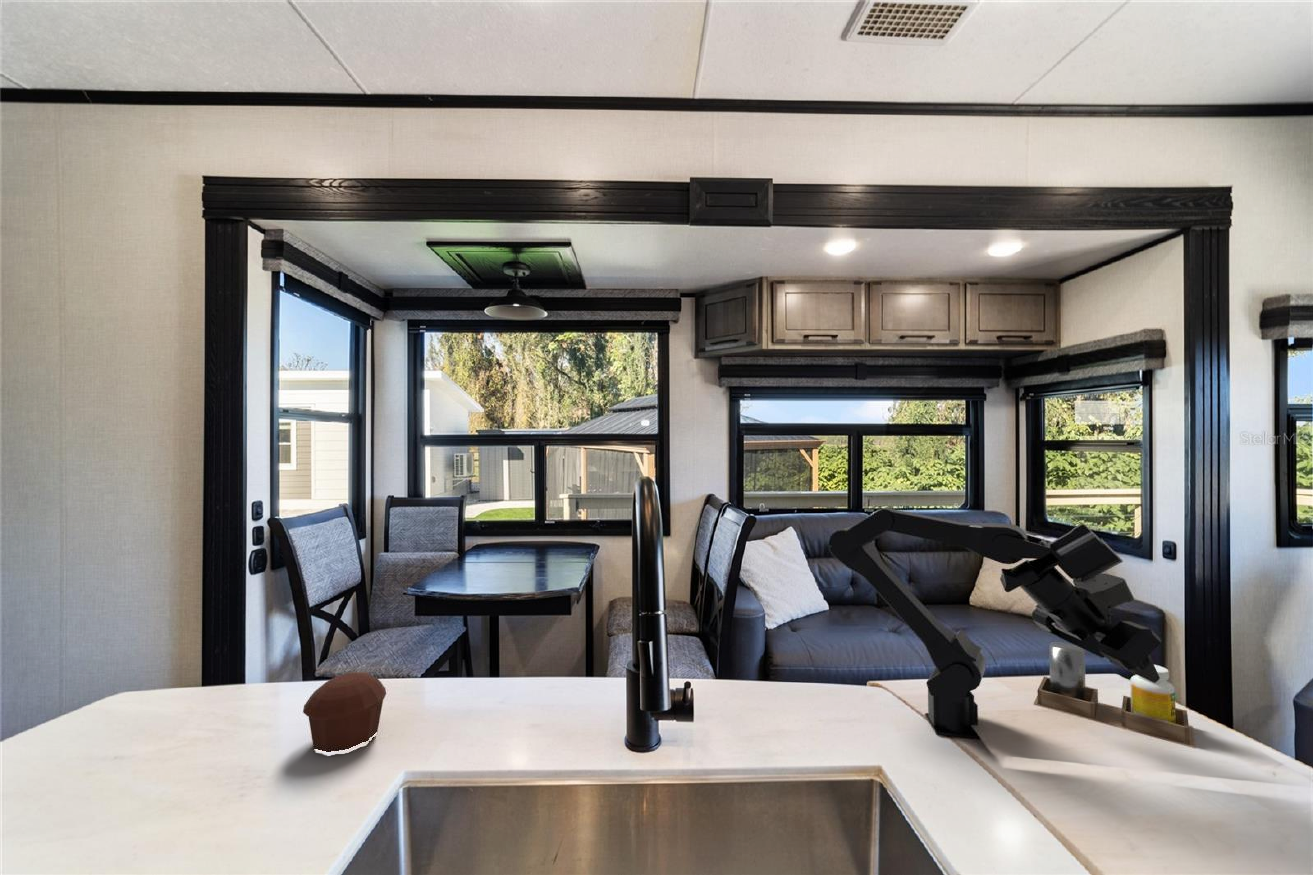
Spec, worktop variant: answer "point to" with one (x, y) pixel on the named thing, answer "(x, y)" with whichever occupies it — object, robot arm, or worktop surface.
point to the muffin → (345, 711)
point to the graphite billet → (1067, 670)
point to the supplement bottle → (1153, 697)
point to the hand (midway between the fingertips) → (1129, 667)
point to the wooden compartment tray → (1117, 715)
